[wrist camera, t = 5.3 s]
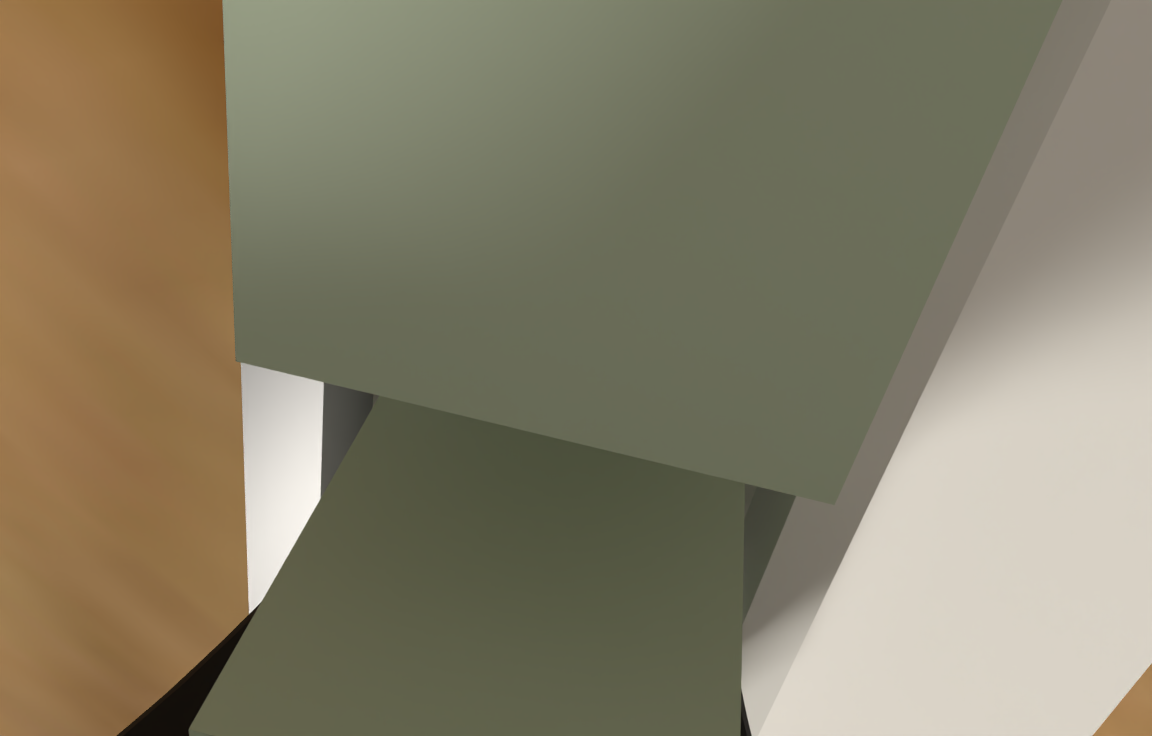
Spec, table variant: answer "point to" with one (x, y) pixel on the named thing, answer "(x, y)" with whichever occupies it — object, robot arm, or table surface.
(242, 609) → the table surface
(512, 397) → the faced carton
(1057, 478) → the shelf board
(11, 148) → the table surface
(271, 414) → the rail
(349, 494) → the carton
